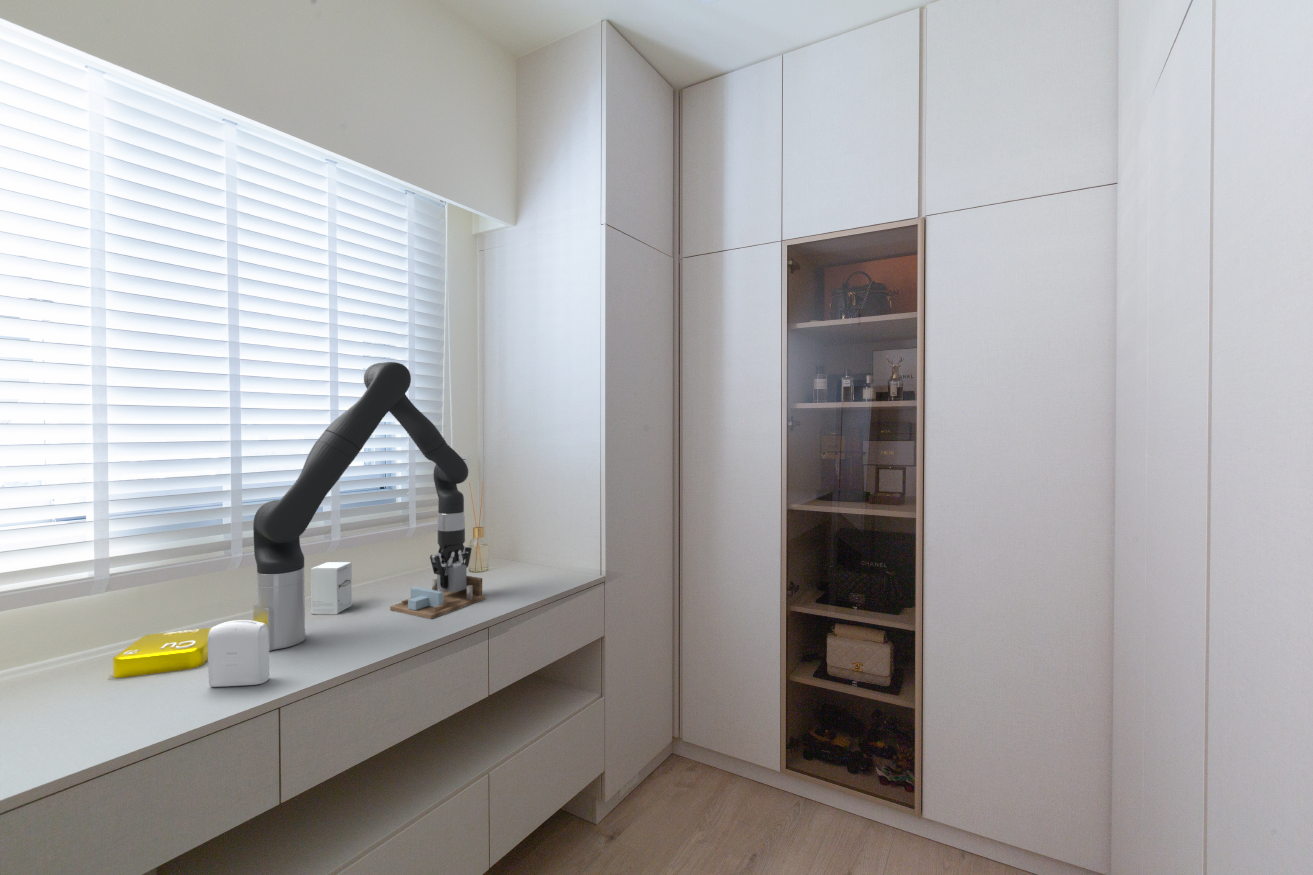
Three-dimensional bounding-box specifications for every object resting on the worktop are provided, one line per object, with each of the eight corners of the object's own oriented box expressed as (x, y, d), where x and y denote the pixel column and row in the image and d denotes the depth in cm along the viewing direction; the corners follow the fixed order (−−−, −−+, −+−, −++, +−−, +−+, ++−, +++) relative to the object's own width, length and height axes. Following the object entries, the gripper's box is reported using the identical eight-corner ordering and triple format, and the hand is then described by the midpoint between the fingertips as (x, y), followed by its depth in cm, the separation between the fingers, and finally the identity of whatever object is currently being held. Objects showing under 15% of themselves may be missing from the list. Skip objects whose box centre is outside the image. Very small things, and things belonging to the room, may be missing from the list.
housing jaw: (426, 612, 150) (426, 597, 150) (397, 606, 155) (397, 591, 155) (443, 606, 156) (443, 591, 155) (415, 600, 161) (415, 586, 160)
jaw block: (454, 592, 162) (454, 565, 161) (437, 589, 165) (436, 562, 165) (466, 588, 166) (466, 562, 165) (449, 585, 169) (449, 559, 169)
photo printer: (204, 689, 109) (203, 625, 109) (218, 679, 113) (218, 617, 113) (260, 686, 110) (259, 623, 110) (273, 677, 114) (272, 616, 114)
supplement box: (337, 614, 152) (337, 568, 152) (310, 614, 152) (309, 567, 152) (352, 606, 159) (352, 561, 159) (326, 605, 159) (326, 561, 159)
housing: (431, 618, 149) (431, 596, 149) (390, 609, 156) (390, 588, 156) (484, 598, 166) (484, 578, 166) (445, 591, 173) (445, 571, 173)
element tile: (225, 643, 133) (224, 623, 133) (200, 669, 119) (199, 646, 119) (144, 653, 127) (144, 632, 127) (108, 681, 113) (107, 657, 113)
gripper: (441, 532, 157) (441, 594, 157) (478, 524, 169) (479, 581, 170) (422, 530, 160) (422, 590, 160) (460, 522, 173) (460, 578, 173)
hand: (451, 585), depth 165 cm, fingers closed on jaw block, 4 cm apart
